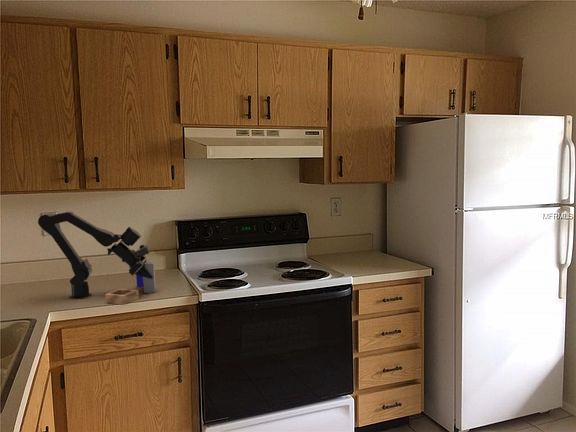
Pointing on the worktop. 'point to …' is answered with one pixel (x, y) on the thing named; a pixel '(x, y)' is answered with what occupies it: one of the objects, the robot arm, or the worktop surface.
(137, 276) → the cable clip
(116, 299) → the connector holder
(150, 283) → the plain gray rectangular block
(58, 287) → the worktop surface
